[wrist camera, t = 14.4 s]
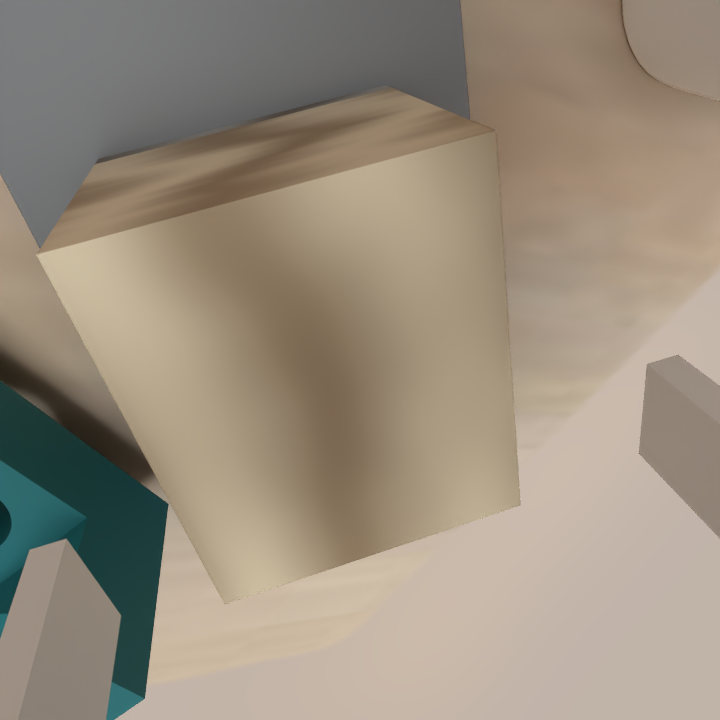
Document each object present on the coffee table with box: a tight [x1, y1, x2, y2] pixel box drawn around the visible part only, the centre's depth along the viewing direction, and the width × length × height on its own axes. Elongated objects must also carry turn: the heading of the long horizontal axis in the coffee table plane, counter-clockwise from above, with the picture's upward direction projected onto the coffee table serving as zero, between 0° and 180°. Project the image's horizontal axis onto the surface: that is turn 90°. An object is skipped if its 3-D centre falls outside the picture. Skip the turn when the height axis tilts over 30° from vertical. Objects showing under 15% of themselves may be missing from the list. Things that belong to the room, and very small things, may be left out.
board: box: [0, 0, 470, 248], centre depth 23 cm, size 16×28×2 cm, turn 11°
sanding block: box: [36, 85, 520, 604], centre depth 19 cm, size 10×12×9 cm
